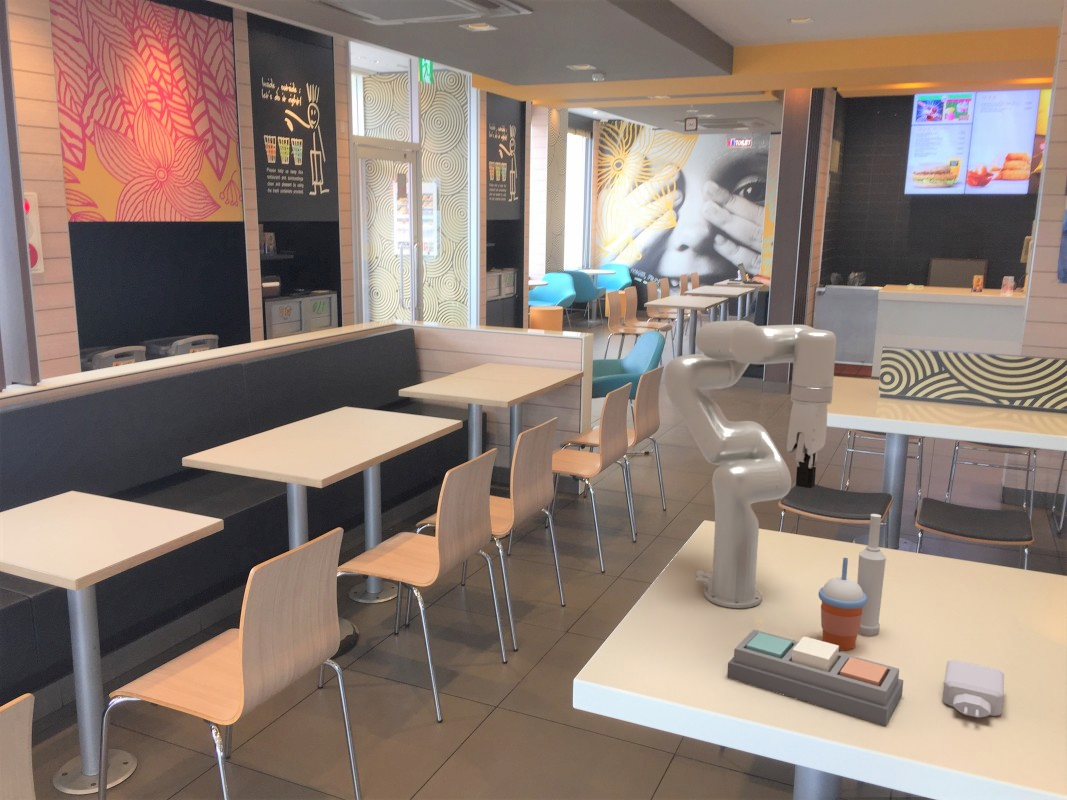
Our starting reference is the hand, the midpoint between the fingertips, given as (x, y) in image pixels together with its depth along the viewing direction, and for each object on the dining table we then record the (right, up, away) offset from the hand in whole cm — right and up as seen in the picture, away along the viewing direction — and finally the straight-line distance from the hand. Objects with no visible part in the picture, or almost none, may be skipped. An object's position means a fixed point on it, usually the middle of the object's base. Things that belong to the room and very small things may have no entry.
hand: (805, 486), depth 172 cm
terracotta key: (+5, -33, -18) cm, 38 cm away
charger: (+23, -37, -19) cm, 48 cm away
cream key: (-2, -31, -14) cm, 34 cm away
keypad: (-2, -35, -13) cm, 37 cm away
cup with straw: (+8, -32, +4) cm, 33 cm away
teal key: (-9, -31, -9) cm, 34 cm away
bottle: (+16, -31, +10) cm, 36 cm away
